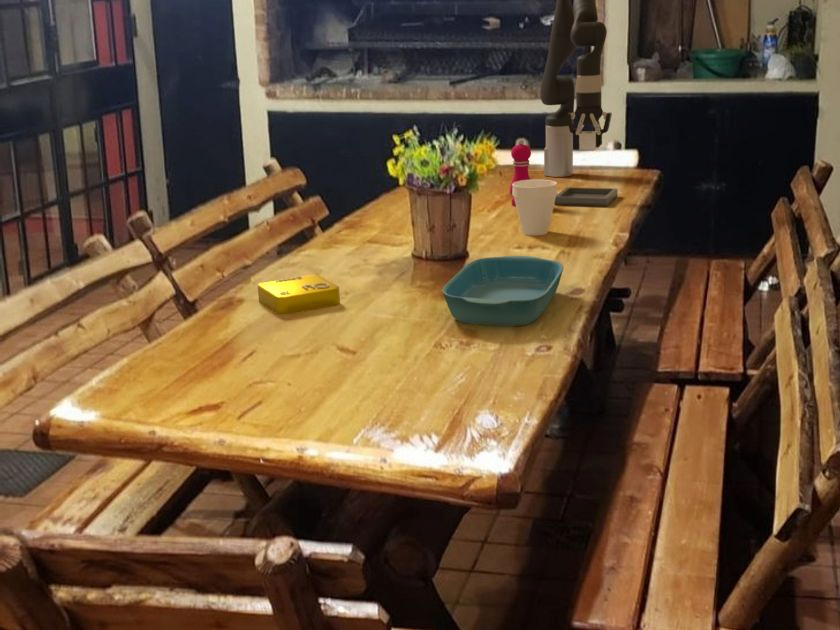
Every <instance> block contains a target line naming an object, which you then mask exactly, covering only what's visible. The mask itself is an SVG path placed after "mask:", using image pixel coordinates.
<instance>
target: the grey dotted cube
mask: <svg viewBox="0 0 840 630" xmlns="http://www.w3.org/2000/svg"><path fill="white" fill-rule="evenodd" d="M599 148H600V147H597V132H596V131H582V132H581V133H579V147H578V149H579V151H596V150H598V149H599Z"/></svg>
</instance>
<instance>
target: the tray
mask: <svg viewBox="0 0 840 630" xmlns="http://www.w3.org/2000/svg"><path fill="white" fill-rule="evenodd" d="M618 190H619V189H618V188H609V187H607V188H604V187H579V186H577V187H575V186H572V187H571V186H567V187H565V188H564V189H562V190H561V191H560V192H559V193H557V195H556V198H555V202H554V206H566V207H567V206H568V207H569V206H573V207H600V208H601V207H602V208H606V207H608V206H609V205H610V204H611V203H612V202H613V201H614V200H615V199H617V198H618V194H619V193H618Z"/></svg>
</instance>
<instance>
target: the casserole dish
mask: <svg viewBox="0 0 840 630" xmlns="http://www.w3.org/2000/svg"><path fill="white" fill-rule="evenodd" d="M563 270H564V265H563V263H562V262H559V261H557V260H552V259H546V258H541V257H535V256H529V255H528V256H527V255H507V256H506V255H505V256H492V257H484V258H483V257H482V258H477V259H474V260H472V261H470V262H469V263H467V264H466V265H465V266H464V267H462V269H461V270H459V271H458V272H457V273H456V274H455V275H454V276H453V277H452V278H451V279H449V280H448V282H447V283H445V285H444V286H443V287H442V290H441V291H442V295H443V297H444V300H445V302H446V305H447V308H448V310H449V312H450V314H451V316H452V317H453V318H454V319H455V320H457V321H458V322H459V323H463V324H468V325H479V326H480V325H481V326H483V325H484V326H499V327H501V326H502V327H503V326H504V327H519V326H525V325H529V324H531V323H532V322H533V321H534V322H535V321H536V320H537V319H538V318H539V317H540V316H541V315H542V313H543V312H544V311H545V309H546V308H547V306H548V305H549V303H550V302H551V300H552V299H553V298H554V296H555V294H556V292H557V290H558V288H559V286H560V282H561V278H562V274H563Z"/></svg>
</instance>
